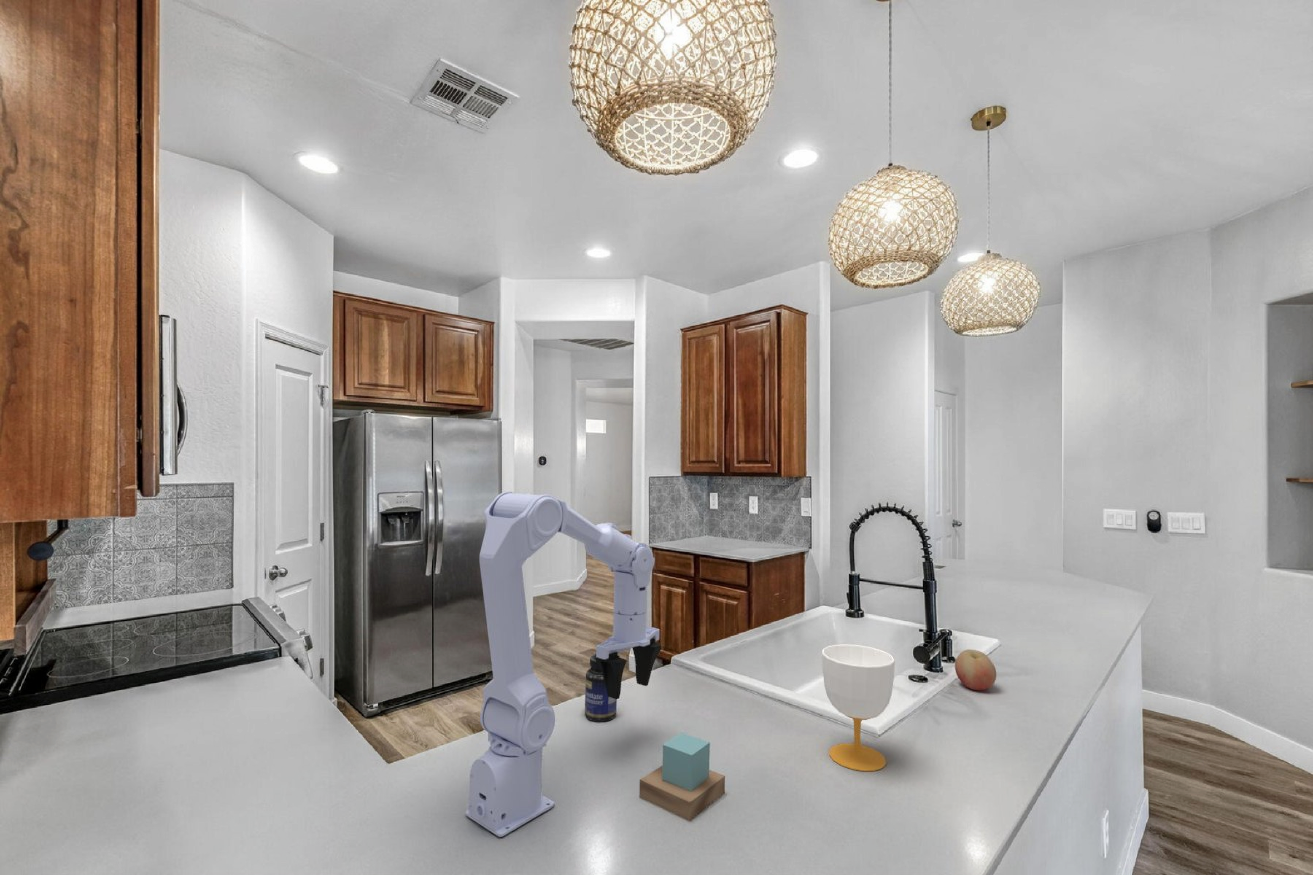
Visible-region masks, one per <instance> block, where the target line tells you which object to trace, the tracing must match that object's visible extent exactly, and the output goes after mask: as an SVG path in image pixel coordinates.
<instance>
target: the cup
mask: <svg viewBox="0 0 1313 875" xmlns="http://www.w3.org/2000/svg"><path fill="white" fill-rule="evenodd" d="M821 659H822V660H821V662H822V664H821V665H822V675H823V676H822V677H823V684H824V690H825V694H826V696H827V698H828V700H829V701H830V703H831V706H832V707H833V708H834V709H835V710H837V711H838V712H839V713H840V714H841V715H844V716H845V717H847V718H849V719H852V721H853V730H854V734H853V743H840V744H836V745H833V746H832V747H831V748H830V749H829V757H830V758H831V759H832V760H833V762H835V763H836V764H839V766H842V767H844V768H846V769H850V770H853V771H859V772H876V771H878V770H882V769H883V768H884V767H885V766H886V765H887V762H886V761H887V760H886V757H885V756H884V755H883V754H881V753H880V752H879V751H878V750H876V749H874V748H872V747H869V746H866V745H862V744H861V727H862V721H866V720H867V721H868V720H870V719H875V718H877V717H879V716H880V715H881V714H882V713H884V711H885V710H886V708H887V707H888V706H889V704H890V701H891V697H892V694H893V687H894V680H895V664H896V663H895V662H896V661H895V659H894V657H893V655H891V654H890V653H889V652H887V651H884V650H881V649H878V648H875V647H871V646H867V645H859V644H845V643H844V644H833V645H832V644H831V645H828V646H826V647H824V648H822V651H821Z"/></svg>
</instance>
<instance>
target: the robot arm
mask: <svg viewBox="0 0 1313 875" xmlns="http://www.w3.org/2000/svg"><path fill="white" fill-rule="evenodd" d="M483 517H484V523H485V524H484V525H485V531H484V535H483V539H482V542H481V543H482V544H481V548H480V552H479V568H480V578H481V583H482V584H481V585H482V593H483V602H484V608H485V609H484V610H485V618H486V620H485V621H486V626H487V627H486V628H487V636H488V637H487V638H488V644H489V654H490V660H491V662H490V663H491V669H492V676H493V678H492V679H491V680H490V681H489V682H488V683H487V684H486V685H485V686H484V687H483V688H482V694H483V696H482V697H483V700H482V705H481V709H480V712H479V716H480V717H479V719H480V720H479V721H480V725H481V727H482V728H483V730H484V731H485V732H487V741H488V743H490V744H489V747H488V749H487V750H486V751H485V752H484V753H483V755H480V757H479V758H477V759H476V760H475V761H473V763H472V765H471V768H470V774H469V795H468V796H469V798H468V799H469V800H468V801H469V802H468V803H469V804H468V809H466V811H465V816H466V817H467V818H470V819H471V820H473V821H474V822H476V823H477V824H479V825H480V826H482V827H483V828H485V829H486V830H487V831H489V832H491V833H493V834H494V835H496V837H499V838H501V837H502V838H503V837H504V836H506V835H508V834H509V833H511V832H512V831H514V830H516V829H518V828H519V827H521V826H523V825H524V824H527V822H530V821H531V820H533V819H534V818H537V817H538V816H540V815H541V814H544V813H545V812H547V811H549V810H550V809H552V808H553V807H554V806H555V801H553V800H552V799H550V798H548V797H546V796H544V795H542V789H543V788H542V784H543V783H542V782H543V779H542V778H543V749H544V747H546V746H547V745H546V744H547V742H548V741H549V739H550V738H551V737H552V734H553V732H554V728H555V724H556V713H555V710H554V707H552V705H551V704H550V701H549V699H548V691H547V689H546V688H545V687H544V685H543V684H542V683H541V681H540V680H539V679H538V676H536V674H535V672H534V663H533V656H532V655H533V652H532V646H531V637H530V636H531V635H530V628H529V619H528V611H527V602H526V594H525V584H524V576H523V573H524V572H523V565H524V563H526V561H527V559H529V558H531V557H532V556H533V555H534V554H535V553H537V552H538V551H539V550H540V549H541V548H543V547H544V545H546V544H547V543H548V542H549V541H550V540H552V539H553V537H554V536H555V535H556V534H557V533H561V534H563V535H566V536H567V537H570V538H572V539H574V540H576V541H578V542H580V543H582V544H583V545H584V550H585V552H586V553H587V555H589V556H590V557H593V558H594V559H596V560H598V561H599V562H601V563H603V564H605V565H607V568H608V570H609V571H610V573H614V575H613V577H614V578H613V616H612V617H613V619H612V620H613V622H612V623H613V624H612V635H611V636H610V637H608V638H607V639H606V640H604V641H603V642H602V643H599V644H597V645H596V646H595V648H596V649H595V650H596V651H595V654H594V655H595V660H596V662H597V664H598V666H599V668H600V670H601V672H602V675H603V678H604V681H605V685H606V690H607V694H608V697H611V698H613V699H617V700H618V699H620V698H621V697H620V696H621V691H622V680H623V673H624V670H625V667H626V664H627V662H628V659H626V658H621V656H620V655H619V653H621V652H624V651H626V650H630V649H632V652H633V656H634V662H635V679H636V680H635V681H636V684H638V685H641V686H644V687H647V686H649V682H650V678H651V675H652V671H653V667H654V665H655V662H656V659H657V657H658V656H659V654H660V652H661V651H662V644H661V642H657V641H659V640H660V629H659V628H656V627H652V626H651V627H648V628H647V596H648V591H647V590H648V586H649V584H650V582H651V574H652V571H653V569H654V566H655V560H656V557H654V553H653V551H652V549H651V548H650V547H649V545H647V543H644V542H643V543H642V542H635V540H633V537H632V535H630V534H627V533H626V534H625V533H623V532H620V531H619V530H617V525H616V524H614V523H611V522H605V523H598V524H596V525H595V523H593V522H591V521H589V519H587V518H585V517H584V516H582V515H581V514H580V513H578V512H577V511H576V510H574V509H572V507H569V506H568V505H567V502H566V501H565V500H564V501H563V500H561V499H557V498H556V497H555V496H553V495H551V494H546V493H545V494H532V493H531V494H528V493H516V492H512V491H505V492H501V493H499V494H498V495H497V496H495V498H494V499H493V500H492V501H491V502H490V504H489V506H487V508H486V509H485V510H484V512H483Z"/></svg>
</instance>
